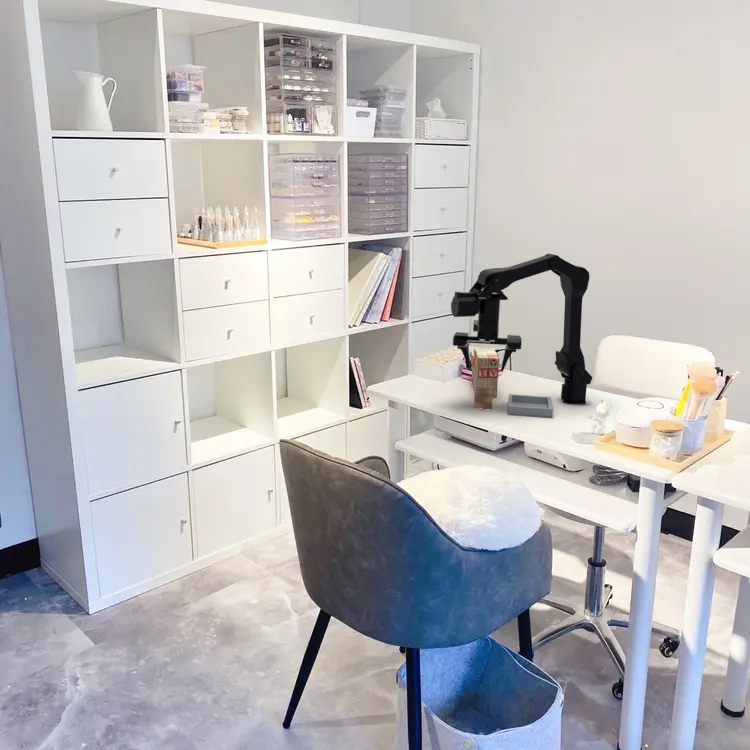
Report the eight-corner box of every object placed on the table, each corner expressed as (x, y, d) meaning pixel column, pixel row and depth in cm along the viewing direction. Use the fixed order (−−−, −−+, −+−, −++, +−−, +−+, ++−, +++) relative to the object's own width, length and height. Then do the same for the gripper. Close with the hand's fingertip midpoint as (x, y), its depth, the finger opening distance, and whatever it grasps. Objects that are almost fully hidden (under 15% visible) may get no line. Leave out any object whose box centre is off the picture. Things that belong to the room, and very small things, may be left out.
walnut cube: (492, 405, 222) (493, 388, 220) (491, 410, 217) (492, 393, 216) (474, 403, 222) (475, 387, 221) (473, 408, 218) (474, 391, 216)
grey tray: (550, 405, 222) (551, 396, 222) (552, 418, 211) (552, 409, 210) (508, 402, 224) (508, 394, 224) (507, 414, 213) (508, 406, 212)
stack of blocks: (468, 378, 249) (470, 341, 246) (488, 378, 249) (490, 341, 246) (476, 397, 229) (478, 357, 226) (497, 398, 229) (499, 357, 225)
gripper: (522, 312, 219) (519, 365, 223) (457, 309, 222) (454, 361, 226) (523, 319, 208) (519, 375, 213) (454, 316, 211) (451, 371, 216)
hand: (485, 370), depth 217 cm, fingers open, 9 cm apart
